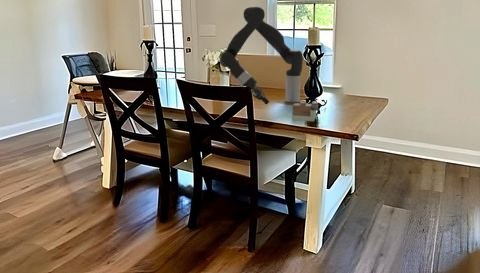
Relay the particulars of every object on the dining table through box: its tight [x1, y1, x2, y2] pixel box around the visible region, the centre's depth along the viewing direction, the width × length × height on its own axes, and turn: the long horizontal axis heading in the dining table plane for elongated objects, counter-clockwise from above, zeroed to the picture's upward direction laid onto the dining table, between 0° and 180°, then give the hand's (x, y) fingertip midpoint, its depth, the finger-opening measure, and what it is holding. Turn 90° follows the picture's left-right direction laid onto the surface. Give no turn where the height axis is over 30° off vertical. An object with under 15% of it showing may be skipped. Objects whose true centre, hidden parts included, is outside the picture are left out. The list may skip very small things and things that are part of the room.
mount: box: [292, 110, 317, 122], centre depth 229 cm, size 9×12×6 cm
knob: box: [310, 101, 319, 111], centre depth 224 cm, size 4×4×4 cm
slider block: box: [292, 101, 312, 120], centre depth 229 cm, size 5×10×9 cm, turn 73°
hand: (267, 103), depth 233 cm, fingers closed
